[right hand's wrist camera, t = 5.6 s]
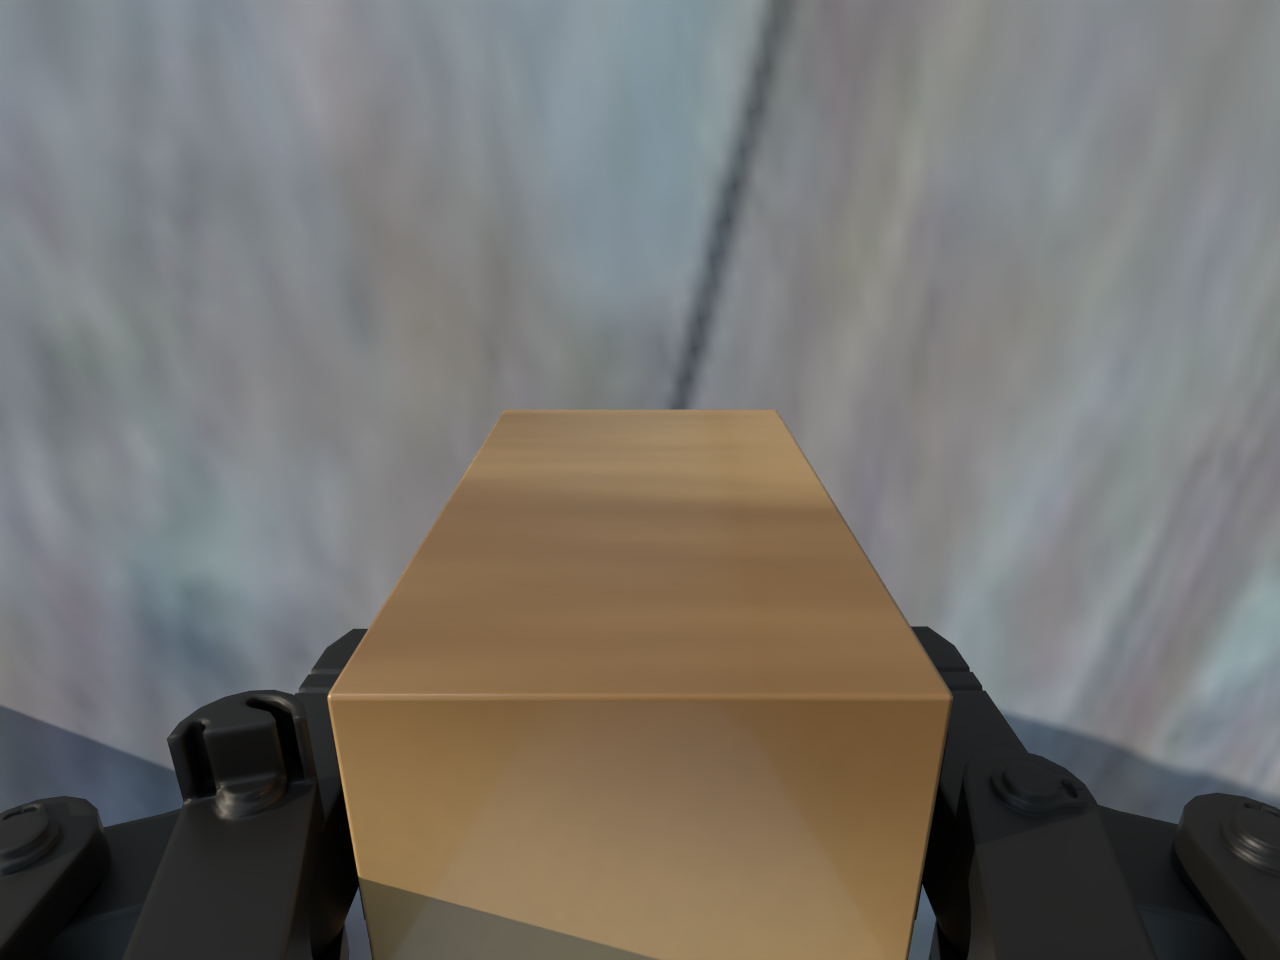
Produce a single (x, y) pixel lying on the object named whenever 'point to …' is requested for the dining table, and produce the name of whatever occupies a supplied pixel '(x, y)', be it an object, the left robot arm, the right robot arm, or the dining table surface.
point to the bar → (640, 709)
